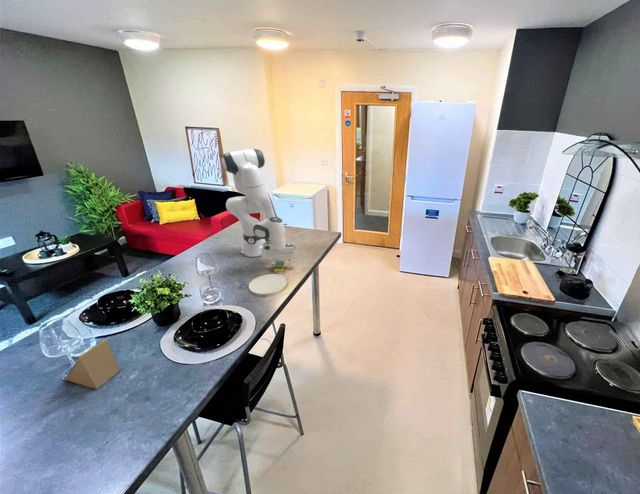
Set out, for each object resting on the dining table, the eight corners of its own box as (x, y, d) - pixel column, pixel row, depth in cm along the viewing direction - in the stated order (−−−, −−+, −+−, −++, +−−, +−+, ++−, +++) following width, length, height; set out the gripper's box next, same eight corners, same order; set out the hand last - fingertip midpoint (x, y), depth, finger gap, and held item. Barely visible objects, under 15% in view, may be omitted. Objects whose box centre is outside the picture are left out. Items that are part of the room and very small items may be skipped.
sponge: (276, 267, 178) (276, 260, 176) (285, 266, 178) (284, 260, 177) (274, 273, 171) (273, 267, 169) (283, 273, 171) (282, 266, 169)
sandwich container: (89, 360, 109) (74, 330, 103) (121, 369, 106) (107, 338, 100) (63, 379, 102) (44, 347, 95) (96, 389, 98) (79, 356, 92)
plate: (253, 277, 167) (253, 274, 166) (289, 275, 169) (288, 273, 169) (245, 297, 149) (244, 294, 148) (284, 295, 151) (284, 292, 151)
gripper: (296, 241, 173) (298, 261, 179) (261, 242, 170) (264, 263, 176) (296, 245, 167) (297, 266, 173) (259, 247, 164) (262, 268, 170)
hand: (280, 264), depth 174 cm, fingers open, 8 cm apart
